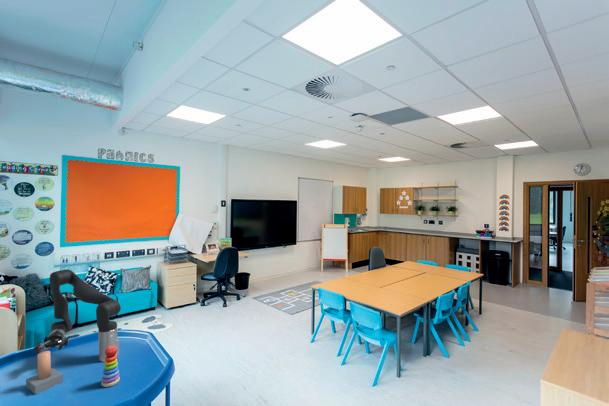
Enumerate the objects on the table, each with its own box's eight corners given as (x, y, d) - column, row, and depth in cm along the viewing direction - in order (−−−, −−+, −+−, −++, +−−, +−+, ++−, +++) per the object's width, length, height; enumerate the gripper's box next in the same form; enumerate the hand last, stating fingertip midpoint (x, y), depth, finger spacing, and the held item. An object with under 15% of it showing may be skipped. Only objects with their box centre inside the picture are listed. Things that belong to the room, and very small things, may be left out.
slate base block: (53, 375, 159) (53, 368, 159) (62, 381, 154) (62, 374, 154) (26, 387, 150) (26, 379, 150) (35, 394, 144) (35, 386, 144)
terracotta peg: (48, 372, 155) (47, 349, 155) (52, 375, 153) (52, 352, 152) (36, 377, 151) (35, 354, 150) (40, 380, 148) (39, 356, 148)
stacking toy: (110, 388, 148) (110, 351, 148) (97, 386, 150) (96, 350, 149) (123, 379, 156) (122, 343, 156) (110, 377, 158) (109, 342, 157)
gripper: (39, 334, 171) (31, 347, 157) (70, 328, 178) (65, 340, 164) (40, 347, 171) (31, 361, 157) (71, 341, 179) (66, 353, 165)
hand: (49, 350), depth 161 cm, fingers open, 8 cm apart
